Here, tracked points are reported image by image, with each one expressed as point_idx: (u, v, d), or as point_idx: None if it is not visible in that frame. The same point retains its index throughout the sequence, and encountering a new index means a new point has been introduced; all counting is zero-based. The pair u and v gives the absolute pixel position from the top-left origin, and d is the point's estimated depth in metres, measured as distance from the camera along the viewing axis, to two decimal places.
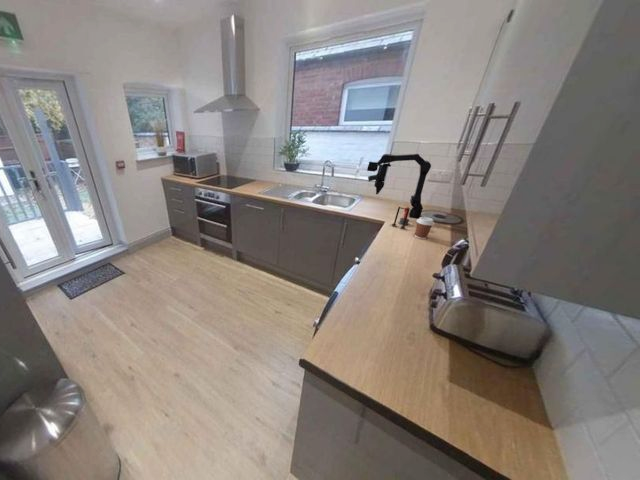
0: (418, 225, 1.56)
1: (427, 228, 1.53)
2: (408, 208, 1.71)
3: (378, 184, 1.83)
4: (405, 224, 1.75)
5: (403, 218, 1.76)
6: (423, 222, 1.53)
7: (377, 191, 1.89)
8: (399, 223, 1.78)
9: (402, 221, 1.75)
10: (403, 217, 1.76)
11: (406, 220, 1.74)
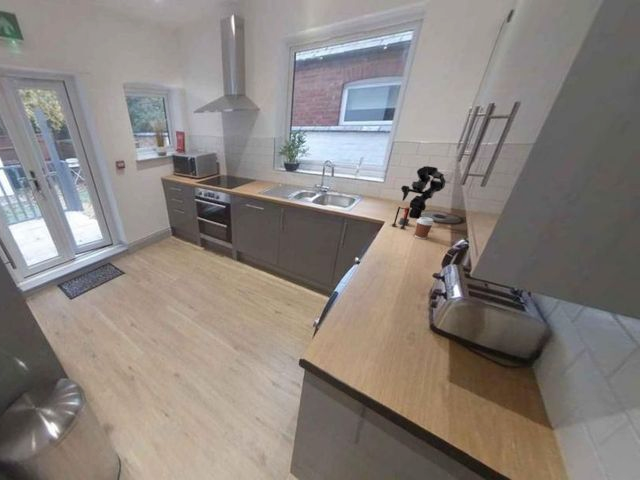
0: (418, 225, 1.56)
1: (427, 228, 1.53)
2: (408, 208, 1.71)
3: (431, 194, 1.68)
4: (405, 224, 1.75)
5: (403, 218, 1.76)
6: (423, 222, 1.53)
7: (420, 201, 1.71)
8: (399, 223, 1.78)
9: (402, 221, 1.75)
10: (403, 217, 1.76)
11: (406, 220, 1.74)
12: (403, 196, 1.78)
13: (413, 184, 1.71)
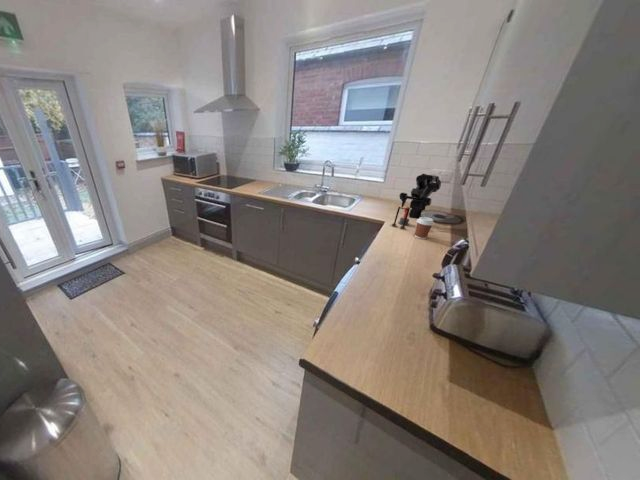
0: (418, 225, 1.56)
1: (427, 228, 1.53)
2: (408, 208, 1.71)
3: (430, 201, 1.68)
4: (405, 224, 1.75)
5: (403, 218, 1.76)
6: (423, 222, 1.53)
7: (419, 208, 1.71)
8: (399, 223, 1.78)
9: (402, 221, 1.75)
10: (403, 217, 1.76)
11: (406, 220, 1.74)
12: (402, 203, 1.77)
13: (413, 191, 1.70)
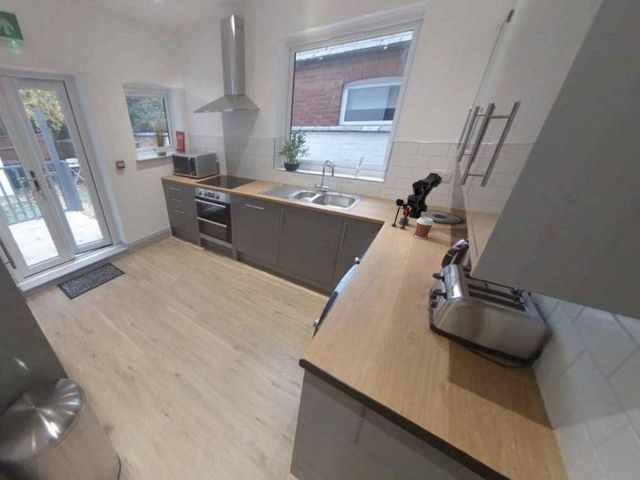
0: (418, 225, 1.56)
1: (427, 228, 1.53)
2: (408, 208, 1.71)
3: (426, 208, 1.68)
4: (405, 224, 1.75)
5: (403, 218, 1.76)
6: (423, 222, 1.53)
7: (410, 213, 1.72)
8: (399, 223, 1.78)
9: (402, 221, 1.75)
10: (403, 217, 1.76)
11: (406, 220, 1.74)
12: None
13: (409, 197, 1.70)
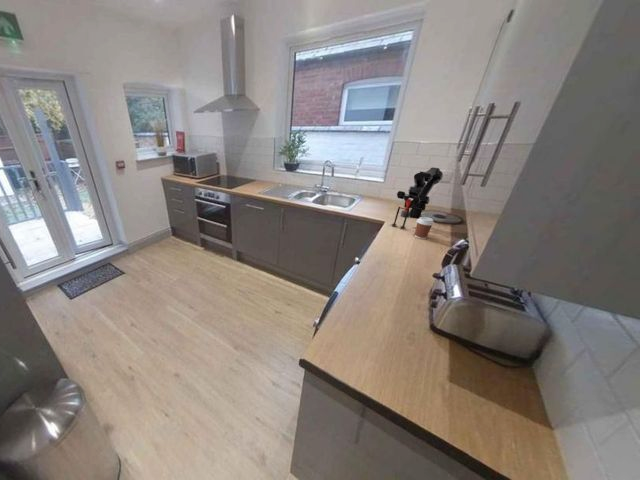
0: (418, 225, 1.56)
1: (427, 228, 1.53)
2: (410, 200, 1.67)
3: (428, 200, 1.64)
4: None
5: (404, 210, 1.72)
6: (423, 222, 1.53)
7: (411, 205, 1.69)
8: None
9: (403, 214, 1.71)
10: None
11: None
12: (405, 203, 1.71)
13: (410, 189, 1.66)
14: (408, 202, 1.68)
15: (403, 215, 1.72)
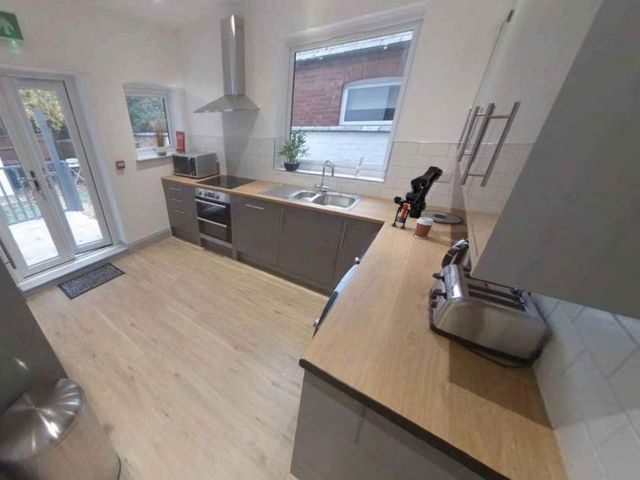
0: (418, 225, 1.56)
1: (427, 228, 1.53)
2: (407, 205, 1.67)
3: (425, 205, 1.63)
4: (402, 222, 1.69)
5: (401, 216, 1.71)
6: (423, 222, 1.53)
7: (410, 211, 1.68)
8: (396, 221, 1.72)
9: (399, 218, 1.70)
10: (401, 215, 1.71)
11: (404, 218, 1.69)
12: None
13: (407, 195, 1.65)
14: (405, 207, 1.68)
15: (399, 220, 1.70)
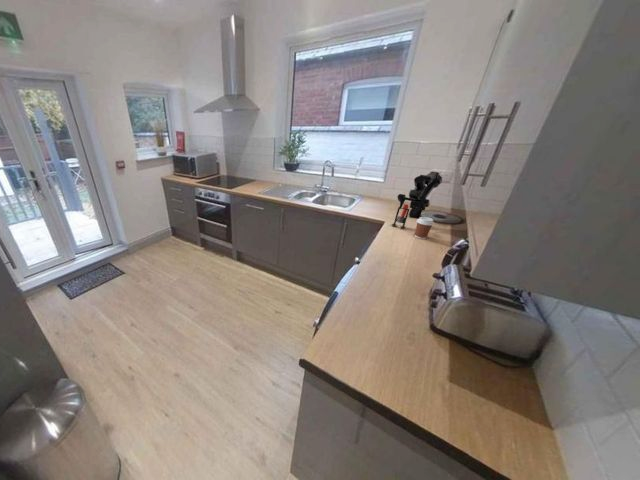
0: (418, 225, 1.56)
1: (427, 228, 1.53)
2: (407, 205, 1.67)
3: (428, 203, 1.66)
4: (402, 222, 1.69)
5: (401, 216, 1.71)
6: (423, 222, 1.53)
7: (417, 209, 1.69)
8: (396, 221, 1.72)
9: (399, 218, 1.70)
10: (401, 215, 1.71)
11: (404, 218, 1.69)
12: (400, 204, 1.76)
13: (411, 192, 1.68)
14: (405, 207, 1.68)
15: (399, 220, 1.70)
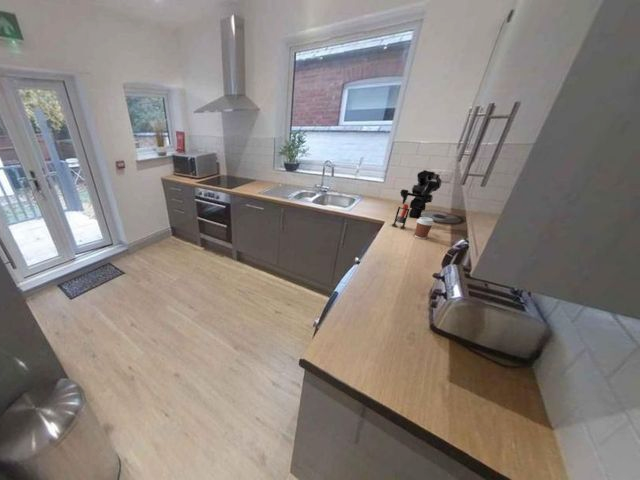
0: (418, 225, 1.56)
1: (427, 228, 1.53)
2: (407, 205, 1.67)
3: (431, 198, 1.67)
4: (402, 222, 1.69)
5: (401, 216, 1.71)
6: (423, 222, 1.53)
7: (420, 204, 1.70)
8: (396, 221, 1.72)
9: (399, 218, 1.70)
10: (401, 215, 1.71)
11: (404, 218, 1.69)
12: (403, 200, 1.77)
13: (414, 187, 1.69)
14: (405, 207, 1.68)
15: (399, 220, 1.70)
